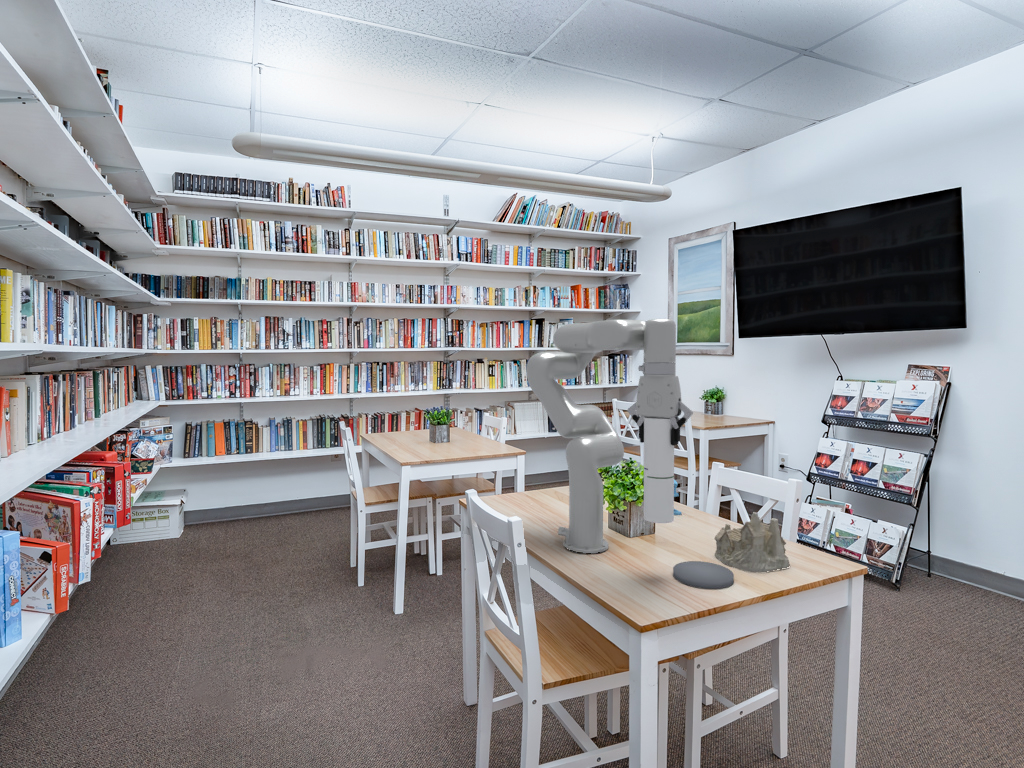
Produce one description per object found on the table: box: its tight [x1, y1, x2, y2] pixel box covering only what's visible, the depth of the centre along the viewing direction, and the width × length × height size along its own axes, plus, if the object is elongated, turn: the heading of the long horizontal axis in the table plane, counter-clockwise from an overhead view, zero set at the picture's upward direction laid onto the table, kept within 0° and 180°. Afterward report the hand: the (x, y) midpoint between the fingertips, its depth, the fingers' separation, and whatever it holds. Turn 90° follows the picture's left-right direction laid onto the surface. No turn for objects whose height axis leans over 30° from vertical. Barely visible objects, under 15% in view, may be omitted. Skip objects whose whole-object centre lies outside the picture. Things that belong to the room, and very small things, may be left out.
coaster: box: [672, 560, 735, 590], centre depth 141 cm, size 14×14×2 cm
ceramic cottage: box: [714, 511, 791, 573], centre depth 153 cm, size 16×16×15 cm
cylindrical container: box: [643, 417, 675, 524], centre depth 141 cm, size 7×7×25 cm
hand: (659, 442), depth 141 cm, fingers closed on cylindrical container, 7 cm apart
